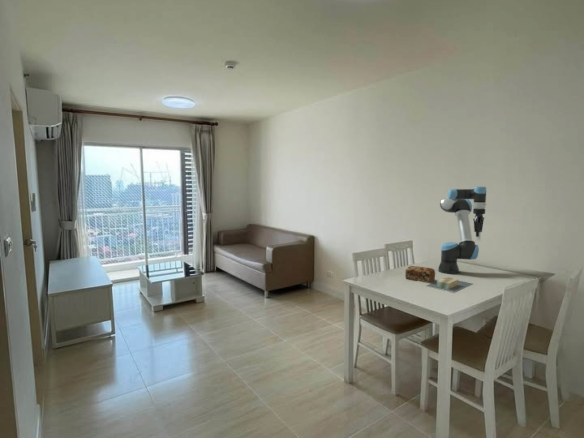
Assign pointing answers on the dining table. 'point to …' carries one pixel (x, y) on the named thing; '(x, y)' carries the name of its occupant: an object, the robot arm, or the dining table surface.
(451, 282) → the slab
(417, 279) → the bread
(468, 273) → the dining table surface
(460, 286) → the mat
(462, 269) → the dining table surface
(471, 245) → the robot arm
